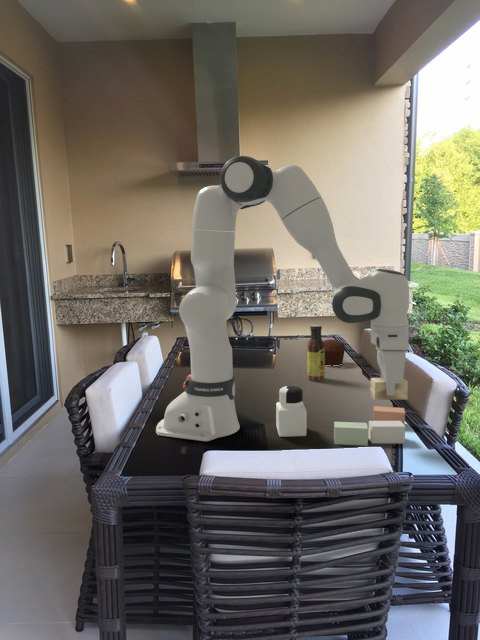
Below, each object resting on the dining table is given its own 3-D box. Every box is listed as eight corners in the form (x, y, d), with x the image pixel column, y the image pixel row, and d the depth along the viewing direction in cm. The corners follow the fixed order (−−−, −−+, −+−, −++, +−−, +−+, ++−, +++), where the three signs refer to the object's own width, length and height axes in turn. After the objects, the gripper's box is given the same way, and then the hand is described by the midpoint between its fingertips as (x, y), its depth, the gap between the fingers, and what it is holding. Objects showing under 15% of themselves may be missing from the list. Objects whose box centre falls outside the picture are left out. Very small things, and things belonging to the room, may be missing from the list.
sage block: (334, 444, 123) (334, 427, 122) (334, 438, 127) (334, 421, 126) (367, 446, 122) (368, 428, 121) (366, 439, 126) (366, 422, 125)
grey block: (371, 443, 123) (372, 426, 122) (368, 437, 127) (368, 420, 126) (404, 443, 123) (405, 426, 122) (400, 437, 127) (400, 420, 126)
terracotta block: (373, 426, 134) (373, 410, 134) (373, 421, 138) (373, 406, 138) (404, 429, 132) (405, 412, 132) (403, 423, 136) (404, 408, 135)
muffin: (344, 360, 209) (344, 337, 207) (347, 367, 198) (347, 342, 196) (315, 360, 210) (316, 337, 208) (317, 367, 199) (317, 342, 197)
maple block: (374, 400, 121) (375, 382, 120) (370, 395, 125) (370, 377, 124) (407, 399, 121) (408, 381, 120) (402, 394, 125) (402, 377, 124)
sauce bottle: (324, 382, 178) (324, 327, 175) (306, 381, 179) (306, 327, 176) (324, 377, 184) (325, 324, 181) (307, 376, 185) (308, 324, 182)
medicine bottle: (302, 426, 135) (302, 383, 133) (306, 436, 128) (306, 391, 126) (276, 427, 135) (275, 384, 133) (279, 437, 128) (278, 392, 126)
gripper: (371, 328, 131) (371, 379, 134) (380, 344, 111) (379, 403, 114) (396, 328, 130) (395, 379, 132) (410, 344, 110) (408, 404, 113)
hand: (388, 391), depth 123 cm, fingers closed on maple block, 4 cm apart
